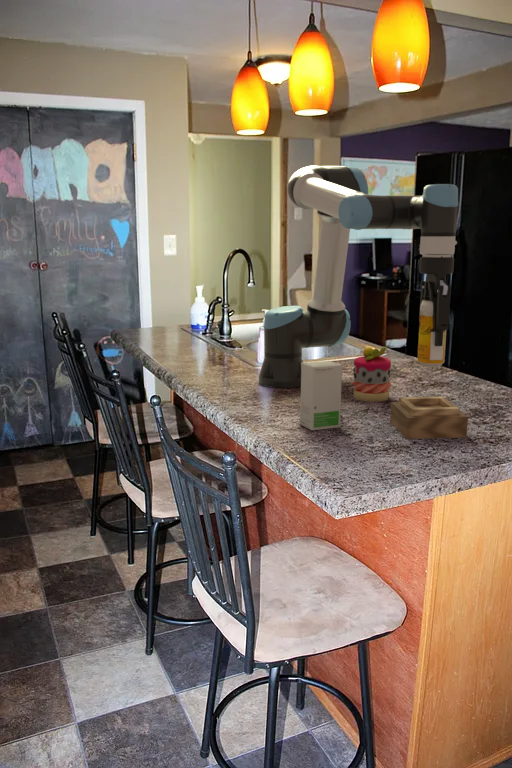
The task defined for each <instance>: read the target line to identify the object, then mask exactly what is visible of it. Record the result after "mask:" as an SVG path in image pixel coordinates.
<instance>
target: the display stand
mask: <svg viewBox="0 0 512 768" xmlns="http://www.w3.org/2000/svg"><path fill="white" fill-rule="evenodd" d="M468 419H469V416H468V415H467V414H465V413H464V412H463V411H461V410H460V408H459V406H457V405H455V404H454V403H453V402H451V401H450V400H448V398H446V397H444V396H411V397H406V396H405V397H398V401H392V402H390V423H391V424H392V425H393V427H395V428H396V429H397V431H399V433H400V434H401V435H402V436H403V437H404V438H405V439H406V440H420V439H423V440H425V439H424V438H427V439H454V438H455V439H456V438H461V437H464V438H467V437H468V435H467V434H468V421H469V420H468ZM461 439H462V438H461Z"/></svg>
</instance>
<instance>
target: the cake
mask: <svg viewBox="0 0 512 768" xmlns="http://www.w3.org/2000/svg"><path fill="white" fill-rule="evenodd" d="M386 350H387V347H386V346H383V347H381V348H380V349H379V348H373V347H370V346H367V347H365V348H363V351H362V353H363V356H359V357H355V359H354V360H353V366H354V367H353V369H352V371H353V379H354V380H353V381H352V383H351V384H352V385H353V386H354V388H353V398H354V399H355V400H357V401H361V402H362V401H363V402H372V403H373V402H375V403H377V402H385V401H388V400H389V397H390V396H389V395H390V389H391V388H392V384H391V381H390V378H391V367H392V361H391V359H390V358H389V359H388V358H387V357H385V356H383V355H384V354H386Z"/></svg>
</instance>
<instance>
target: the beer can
mask: <svg viewBox="0 0 512 768" xmlns="http://www.w3.org/2000/svg"><path fill="white" fill-rule="evenodd" d="M419 312H420V322H419V325H418V344H417V362H418V363H419V366H423V367H426V368H427V367H428V368H436V367H442V366H443V364H444V363H445V361H446V359H445V357H446V344H447V343H446V342H447V330H445V332H444V342H443V358H442V360H430V346H431V332H430V329H433V302H431V301H427V300H422V303H421V305H420V304H419Z"/></svg>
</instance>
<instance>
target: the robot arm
mask: <svg viewBox="0 0 512 768" xmlns="http://www.w3.org/2000/svg"><path fill="white" fill-rule="evenodd" d="M287 194H288V197H289V200H290V201H291V202H292V203H293V204H294V205H295V206H296V207H299V208H301V209H303V210H313V209H314V210H316V212H317V213H316V214H317V216H318V217H319V218H320V219H321V221H320V223H321V225H320V230H319V231H320V233H319V239H318V240H319V241H318V252H317V259H316V269H315V270H316V271H315V277H314V278H315V279H314V287H313V297H312V298H311V299H310V300H308V301H307V307H306V309H305V310H304V309H303V307H302V306H300V305H286V306H279V307H274V308H271V309H269V310H267V311H266V313H265V314H264V322H263V323H264V324H263V339H264V341H263V343H264V344H263V345H264V346H263V347H264V350H263V351H264V352H263V353H264V354H263V356H264V357H263V361H262V364H261V367H260V370H259V372H258V373H259V374H258V384H260V385H261V386H264V387H269V388H278V389H279V388H281V389H284V388H285V389H286V388H287V389H289V388H299V387H301V363H302V362H304V361H303V349H307V348H309V349H310V348H323V347H324V348H325V347H326V348H328V347H333V346H340V345H341V344H343V343H344V342H346V340H347V339H348V336H349V335H350V331H351V328H352V327H351V323H352V322H351V320H350V319H351V316H350V313H349V311H348V310H347V309H346V305H345V304H344V301H342V297H343V289H344V282H345V281H344V280H345V274H346V273H345V272H346V264H347V258H348V257H347V255H348V250H349V241H350V232H351V230H358V231H360V230H377V229H378V230H380V229H381V230H417V229H418V230H419V229H420V241H419V242H420V243H419V254H420V255H422V256H420V258H419V266H418V268H419V269H418V271H419V273H420V274H422V275H423V274H424V275H426V277H425V280H421V281H420V301H419V306H420V305H421V303H422V300H427V301H431V302H433V329H430V332H431V346H430V360H442V358H443V342H444V332H445V330H446V331H448V330H449V328H450V327H449V325H450V323H449V322H450V305H451V304H450V301H451V299H450V298H451V292H452V285H451V284H450V285H449V284H447V279H446V278H447V277H446V276H447V275H452V274H453V273H454V268H455V258H454V257H453V256H452V255H455V250H456V247H455V246H456V245H457V244H458V241H457V240H456V234H457V233H456V232H457V220H458V210H459V188H458V186H457V185H455V184H452V183H451V184H450V183H434V184H427V185H425V186H424V187H423V192H422V195H379V194H378V195H373V194H369V184H368V179H367V178H366V175H365V173H364V172H363V171H362V169H359V168H358V167H355V166H348V165H346V166H345V165H308V166H305V167H302V168H300V169H299V168H298V170H297V171H295V172H294V173H293V174H292V175H291V176H290V178H289V180H288V184H287ZM418 322H419V323H420V311H419V314H418Z"/></svg>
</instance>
